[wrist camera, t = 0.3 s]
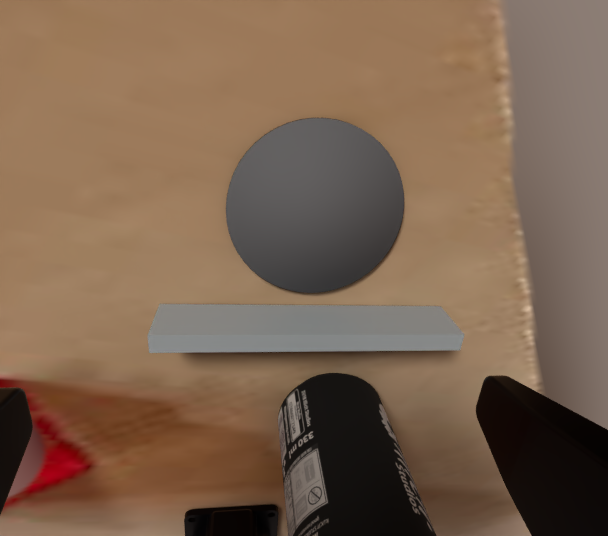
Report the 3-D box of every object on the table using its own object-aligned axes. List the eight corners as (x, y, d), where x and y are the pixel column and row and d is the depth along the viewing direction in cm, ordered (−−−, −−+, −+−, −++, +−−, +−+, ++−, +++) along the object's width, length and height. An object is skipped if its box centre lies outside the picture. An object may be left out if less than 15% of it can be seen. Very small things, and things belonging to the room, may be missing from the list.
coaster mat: (386, 290, 24) (388, 293, 23) (226, 288, 22) (225, 291, 22) (416, 124, 20) (419, 125, 20) (226, 110, 19) (226, 111, 18)
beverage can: (390, 420, 28) (480, 636, 17) (301, 457, 29) (334, 690, 18) (358, 349, 25) (440, 554, 15) (259, 391, 26) (268, 620, 15)
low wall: (436, 320, 25) (460, 350, 22) (160, 319, 23) (149, 352, 20) (440, 306, 25) (464, 334, 22) (159, 303, 22) (147, 335, 20)
